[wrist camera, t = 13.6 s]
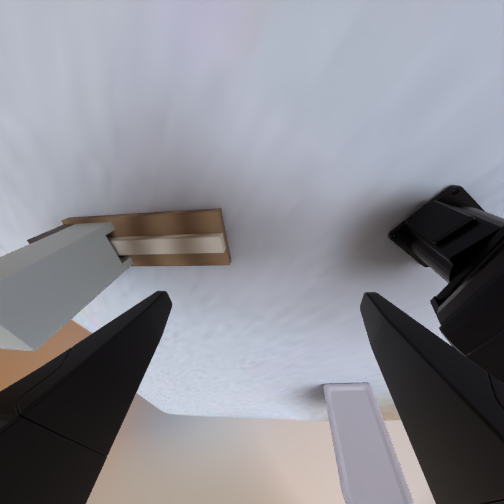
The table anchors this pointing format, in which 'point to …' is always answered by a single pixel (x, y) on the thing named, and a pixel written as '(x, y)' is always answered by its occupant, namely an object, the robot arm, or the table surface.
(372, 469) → the soap bottle
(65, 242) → the block
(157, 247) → the rail board
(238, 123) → the table surface
